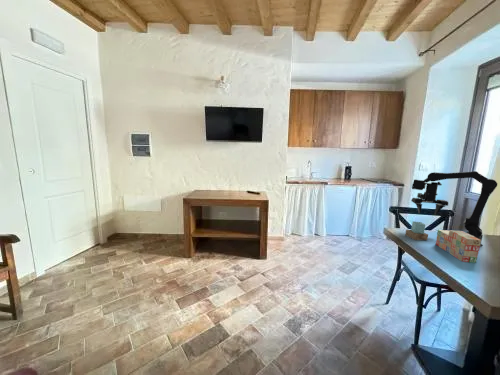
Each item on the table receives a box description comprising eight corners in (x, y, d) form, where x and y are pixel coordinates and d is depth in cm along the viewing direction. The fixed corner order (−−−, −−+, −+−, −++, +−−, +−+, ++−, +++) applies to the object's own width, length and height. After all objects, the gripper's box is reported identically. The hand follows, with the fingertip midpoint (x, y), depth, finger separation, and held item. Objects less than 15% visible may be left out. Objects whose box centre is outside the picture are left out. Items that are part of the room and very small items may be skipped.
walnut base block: (417, 235, 143) (418, 229, 142) (427, 240, 135) (428, 234, 134) (405, 235, 142) (406, 229, 142) (414, 240, 134) (415, 234, 134)
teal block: (420, 231, 139) (421, 222, 138) (423, 233, 135) (425, 224, 134) (411, 230, 141) (412, 221, 140) (414, 232, 136) (415, 223, 135)
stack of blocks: (435, 244, 128) (438, 224, 127) (447, 245, 127) (451, 225, 125) (461, 261, 108) (466, 238, 106) (476, 263, 107) (481, 239, 105)
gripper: (440, 190, 149) (436, 212, 152) (409, 188, 154) (406, 209, 156) (450, 193, 139) (446, 216, 141) (417, 190, 143) (413, 213, 146)
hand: (427, 214), depth 146 cm, fingers open, 9 cm apart
